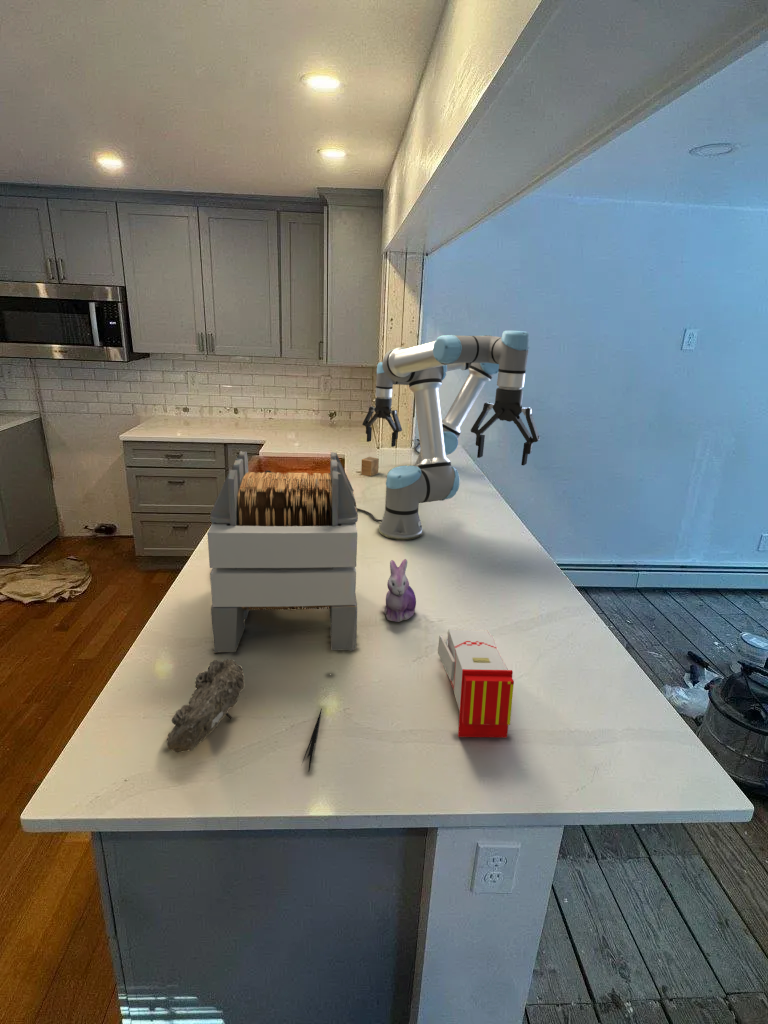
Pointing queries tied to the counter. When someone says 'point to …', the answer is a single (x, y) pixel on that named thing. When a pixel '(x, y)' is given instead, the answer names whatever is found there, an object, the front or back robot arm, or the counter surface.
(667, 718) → the counter surface
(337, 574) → the record storage crate
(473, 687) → the toy
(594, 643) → the counter surface
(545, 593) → the counter surface
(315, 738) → the feather
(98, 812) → the counter surface
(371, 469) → the brown block
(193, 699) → the fossil
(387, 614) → the figurine
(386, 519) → the front robot arm
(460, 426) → the back robot arm
